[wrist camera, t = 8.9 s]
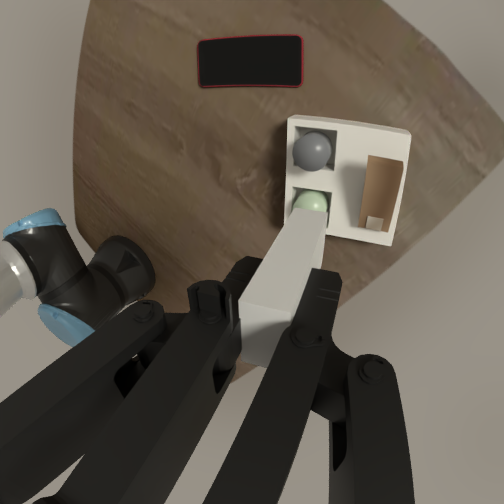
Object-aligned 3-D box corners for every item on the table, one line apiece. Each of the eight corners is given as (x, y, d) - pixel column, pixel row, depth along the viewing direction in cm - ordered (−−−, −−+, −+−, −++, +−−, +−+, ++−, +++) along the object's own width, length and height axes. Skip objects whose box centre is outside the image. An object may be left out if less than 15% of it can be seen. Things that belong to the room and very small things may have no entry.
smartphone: (302, 87, 36) (198, 87, 41) (303, 87, 37) (201, 87, 41) (302, 34, 32) (196, 40, 37) (304, 35, 33) (199, 40, 37)
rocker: (358, 219, 39) (357, 227, 38) (368, 154, 32) (367, 162, 31) (388, 224, 38) (387, 233, 37) (403, 161, 30) (403, 169, 30)
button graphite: (298, 160, 39) (291, 169, 36) (300, 129, 37) (292, 134, 34) (331, 165, 38) (327, 173, 35) (333, 132, 36) (329, 138, 33)
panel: (290, 215, 47) (281, 231, 43) (294, 114, 39) (284, 119, 35) (390, 232, 43) (391, 251, 38) (407, 130, 35) (412, 137, 30)
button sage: (298, 212, 45) (291, 224, 41) (299, 184, 42) (293, 194, 39) (327, 217, 43) (322, 229, 40) (330, 189, 41) (326, 199, 38)
